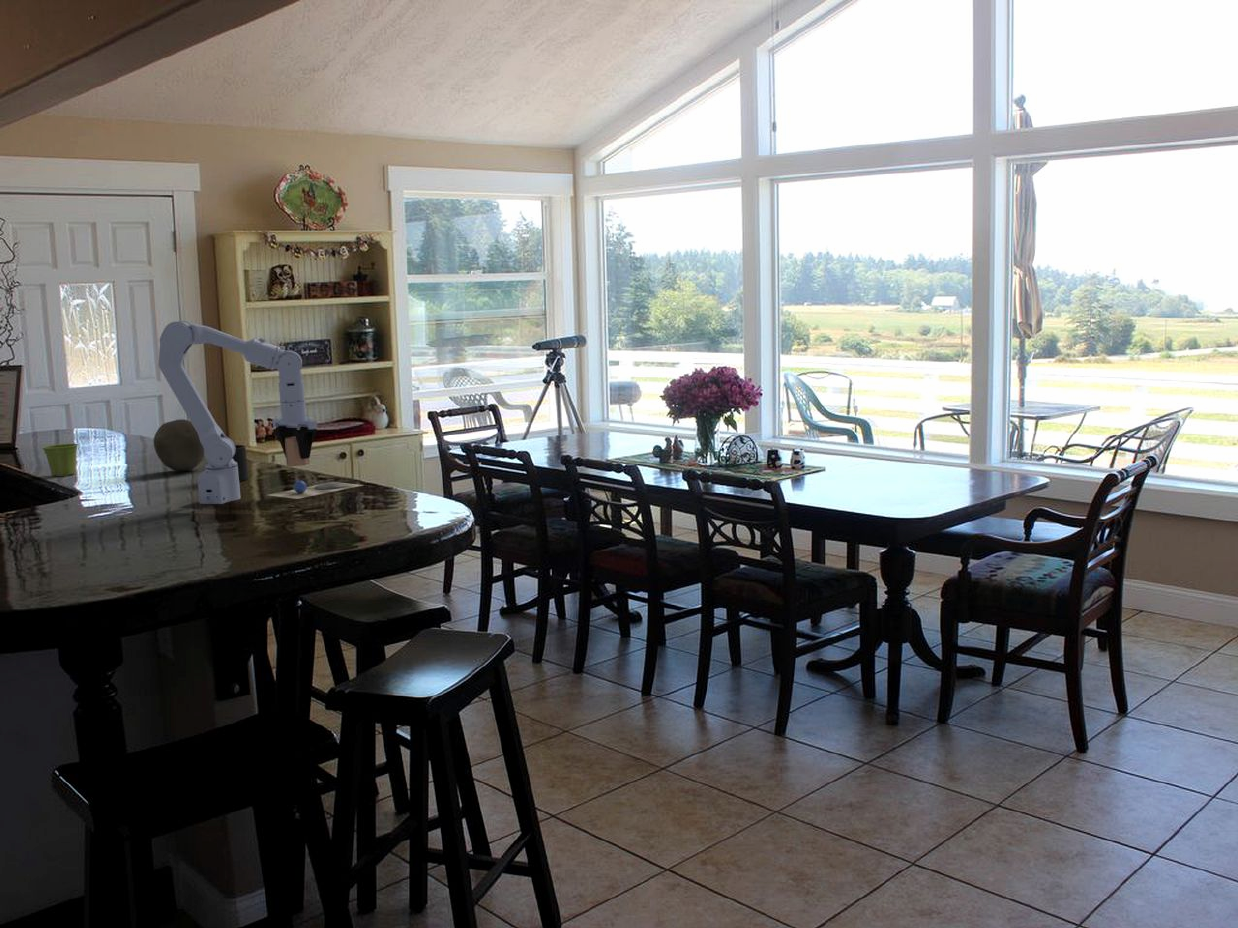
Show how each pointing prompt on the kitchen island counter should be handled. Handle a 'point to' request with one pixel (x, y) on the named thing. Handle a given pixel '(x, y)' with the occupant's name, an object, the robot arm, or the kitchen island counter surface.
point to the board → (315, 490)
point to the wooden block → (293, 453)
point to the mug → (241, 462)
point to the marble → (300, 486)
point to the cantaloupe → (178, 445)
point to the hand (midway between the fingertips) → (297, 457)
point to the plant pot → (61, 459)
